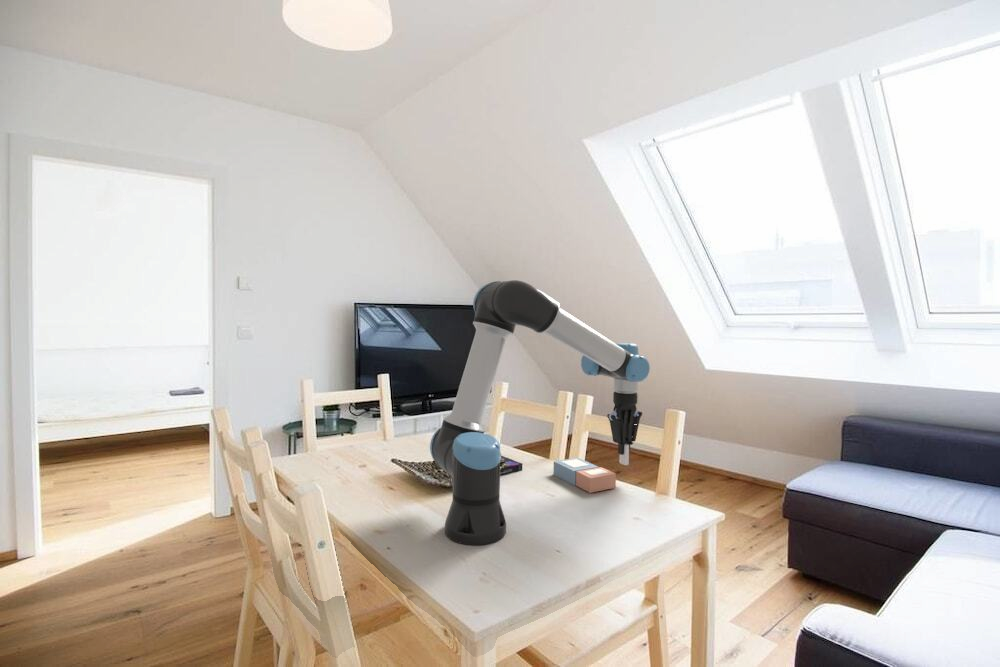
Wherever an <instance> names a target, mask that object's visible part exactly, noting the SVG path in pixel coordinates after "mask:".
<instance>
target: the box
mask: <svg viewBox="0 0 1000 667" xmlns="http://www.w3.org/2000/svg"><path fill="white" fill-rule="evenodd" d="M500 461H504V462H506V466H505V467H504V468H502V469H501V470H500V477H503V476H506V475H510V474H513V473H518V472H522V471H523V463H521V462H519V461H516V460H513V459H511V458H509V457H505V456H504V455H501V460H500Z"/></svg>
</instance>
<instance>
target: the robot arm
mask: <svg viewBox="0 0 1000 667" xmlns="http://www.w3.org/2000/svg"><path fill="white" fill-rule="evenodd" d="M472 304H473V310H474V317H473V321H472V325H473V326H474V328H475V333H474V337H473V340H472V343H471V347H470V350H469V353H468V357H467V361H466V362H465V363H466V364H465V368H464V370H463V373H462V377H461V381H460V382H459V385H458V388H457V389H458V391H457V394H456V397H455V400H454V404H453V407H452V411H451V413H450V414H448V415H446V416H445V417H444V418H443V420H442V424H441V426H440V428H438V429H437V430H436V431H435V432H434V433H433V435H432V437H431V439H430V444H429V450H430V452H429V453H430V455H431V458H432V459H433V462H435V464H436V465H437V466H438V467H439V469H441V470H443V471H444V472H445V473H446V474H447V475H448V476H450V477H451V478H452V501H451V504H450V507H449V510H448V511H447V512H448V513H447V515H446V519H445V523H444V534H445V536H446V537H447V538H449V540H451V541H453V542H456V543H459V544H463V545H471V546H481V545H488V544H491V543H495V542H498V541H499V540H501V539H502V538H503V537H505V535H506V534H507V521H506V518H505V515H504V511H503V507H502V505H501V501H500V497H501V496H500V494H501V492H500V491H501V487H500V486H501V476H500V460H501V456H502V453H501V445H500V442H499V441H498V439H497V438H496V437H494V436H492V435H490V434H489V433H488V434H487V433H485V427H484V425H483V424H482V421H483V418H484V414H485V411H486V407H487V404H488V401H489V396H490V394H491V390H492V387H493V383H494V380H495V376H496V374H497V370H498V367H499V363H500V360H501V357H502V354H503V351H504V347H505V343H506V341H507V339H508V338H510V337H511V336H513V335H514V332H515V329H516V326H520V327H521V326H522V327H526V328H528V329H530V330H533V332H536V333H538V334H542V333H545V334H546V335H548V336H550V337H552V338H553V339H555V340H557V341H559V342H560V343H562V344H563V345H565V346H567V347H569V348H570V349H572V350H574V351H575V352H577V353H579V354H580V355H582V356H581V358H580V365H581V366H580V367H581V370H582V372H583V373H584V374H585V375H586V376H594V377H596V376H603V377H608V378H609V377H610V378H613V390H614V391H613V393H612V394H613V396H612V398H613V399H612V401H613V404H614V407H613V411H612V412H611V413H607V416H606V418H608V421H609V425H610V430H611V436H612V442H613V443H616V444H617V445H618V447H617V448H618V450H617V452H618V454H619V461H618V462H619V464H621V465H623V466H629V464H630V459H629V456H630V453H631V445H633V444H634V442H636V440H637V436H638V435H637V434H638V429H639V427H640V426H639V425H640V420H641V418H642V416H643V412H642V411H640V410H638V408H637V404H638V395H639V394H638V392H637V391H638V389H639V388H638V387H639V386H638V383H641V382H643V381H645V380H646V378H648V376H649V373H650V363H649V360H648V359H647V358H646V357H645V356H642V355H639V346H638V345H637V344H636V343H631V342H630V343H629V342H620V343H619V342H618V343H615V342H614V341H612V340H611V339H609V338H607V337H606V336H605V335H602V333H599V332H598V331H597V330H595V329H593V328H592V327H590V326H588V325H587V324H586V323H584V322H582V321H581V320H579V319H578V318H576V317H575V316H573V315H572V314H570V313H569V312H567V311H566V310H564V309H562V308H561V307H560V303H559V301H557V300H555V299H554V298H552V297H551V296H549V295H548V294H547V293H545V292H543V291H542V290H540V289H538V288H537V287H535V286H533V285H532V284H530V283H529V282H525V281H522V280H518V279H517V280H515V279H514V280H507V281H504V280H503V281H499V280H498V281H492V282H489V283H486V284H485V285H483V286H481V287H480V288H479V289H478V290H477V291H476V294H475V295H474V297H473V303H472ZM634 424H637V425H634Z"/></svg>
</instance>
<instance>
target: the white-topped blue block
mask: <svg viewBox="0 0 1000 667" xmlns="http://www.w3.org/2000/svg"><path fill="white" fill-rule="evenodd" d="M599 467H600V466H597V465H596V464H593V463H591V462H589V461H587V460H584V459H582V458H580V457H573V458H566V459H560V460H555V461H553V473H552V474H553V476H555V477H557V478H559V479H561V480H563V481H565V482H567V483H569V484H570V485H572V486H576V471H581V470H587V469H593V468H599ZM576 487H577V486H576Z"/></svg>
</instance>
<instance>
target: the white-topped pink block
mask: <svg viewBox="0 0 1000 667" xmlns="http://www.w3.org/2000/svg"><path fill="white" fill-rule="evenodd" d="M598 467H599V468H593V469H587V470H581V471H576V487H579V488H580V489H582V490H583V491H585V492H587V493H590V494H591V493H597V492H601V491H606V490H612V489H616V487H617V486H616V485H617V483H616V482H617V480H616V479H617V473H616V472H613V471H611V470H608V469H607V468H605V467H602V466H598Z"/></svg>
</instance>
